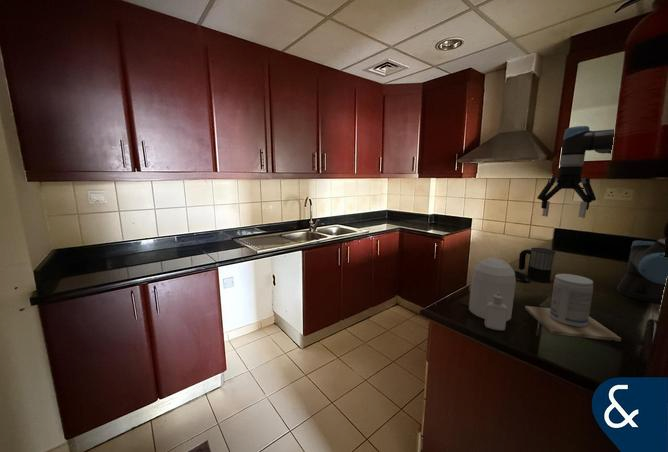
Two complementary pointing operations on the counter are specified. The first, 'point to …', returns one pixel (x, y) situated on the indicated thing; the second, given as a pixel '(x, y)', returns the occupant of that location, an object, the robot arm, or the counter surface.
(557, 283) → the supplement tub
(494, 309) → the eye dropper bottle
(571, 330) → the board
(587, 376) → the counter surface
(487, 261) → the container
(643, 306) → the counter surface
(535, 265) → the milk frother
